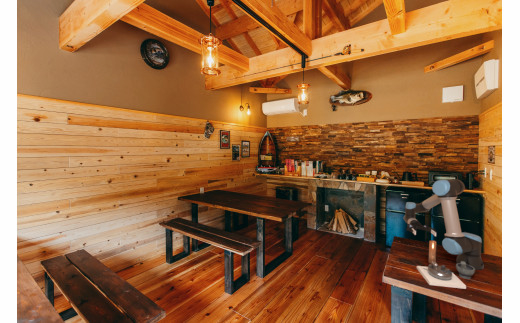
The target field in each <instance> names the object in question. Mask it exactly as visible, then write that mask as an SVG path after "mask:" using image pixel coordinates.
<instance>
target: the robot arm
mask: <svg viewBox="0 0 520 323" xmlns="http://www.w3.org/2000/svg"><path fill="white" fill-rule="evenodd" d="M431 189H432V192H433V195H431V196H430V197H428V198H427V199H425V200H423V201H421V202H420V203H415V202H412V201H407V202H405V214H404V216H403V221H405V223H406V224H407V226H406V231H408V232H409V233H412V234H413V235H414V236H416V235H417V230H421V231H426V232H428V233H431V234H432V235H433V236H434V237H437V231H436V228H433V227H431V226H428V225H426V224H423V225H422V223H421V222H420V221H419V220H418V219H416V213H417V214H418V213H426V212H429V211H431V209H432V208H434V207H436V206H437V205H440V204H441V210H442V216H443V219H444V226H445V230H446V231H445V232H446V233H444V238H443V240H442V242H441V244H442V247H443V249H444V250H445V251H446V252H447V253H448V254H451V255H455V256H456V255H457V256H456V260H455V261H456V264H457V263H461V261H464V262H465V263H466V264H467V265H470V266H472V267H474V268H475V271H476V270H484V268H485V267H484V266H485V265H484V261H483V260H482V244H483V242H482V238H481V236H479V235H477V234H474V233H470V232H465V231H464V232H462V228H461V222H460V218H459V213H458V212H459V211H458V208H457V202H456V201H457V200H456V199H457V198H458V195H461V194H462V193H463V192H464V191H465V189H466V188H465V183H464V182H463V181H461V180H460V179H457V178H447V179H438V180H436V181H434V183H433V184H432V187H431Z"/></svg>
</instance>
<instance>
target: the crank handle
mask: <svg viewBox="0 0 520 323" xmlns="http://www.w3.org/2000/svg"><path fill="white" fill-rule="evenodd" d="M428 243H429V245H428V246H429V247H428V263H429V264H428V266H427V267H428V273H429V275H431V276H432V277H434V278H437V279H440V280H447V281H448V280H451V279H452V273H453V272H452V270H451V269H450V268H447V267H446V265H444V264H442V265H438V263H437V262H436V261H437V260H436V258H437V241H436V240H429V241H428Z"/></svg>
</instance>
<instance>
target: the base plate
mask: <svg viewBox="0 0 520 323" xmlns="http://www.w3.org/2000/svg"><path fill="white" fill-rule="evenodd" d="M416 270H417V271H418V272H419V274H420V275H421V276H422V277H423V279H424V280H425V281H426V282H427V284H428V285H429V286H436V287H446V288H455V289H456V288H457V289H464V290H466V289H467V285H466V284H465V283H464V282H463V281H462V280H461V279H460V278H459V277H458V276H457V275H455V274H454V272H452V279H451V280H448V281H447V280H440V279H437V278H434V277H432V276H431V275H429V273H428V266H421V265H416Z"/></svg>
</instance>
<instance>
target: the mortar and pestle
mask: <svg viewBox="0 0 520 323" xmlns="http://www.w3.org/2000/svg"><path fill="white" fill-rule="evenodd" d="M455 268H456V271H457V272H458V275H459V277H461V278H463V279H466V280H470V279H471V278H472V276H473V275H474V274H475V273H476V269H475V268H474V267H472V266H470V265H467V264H466V263H465V262H464V261H461V263H457V262H456V264H455Z"/></svg>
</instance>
